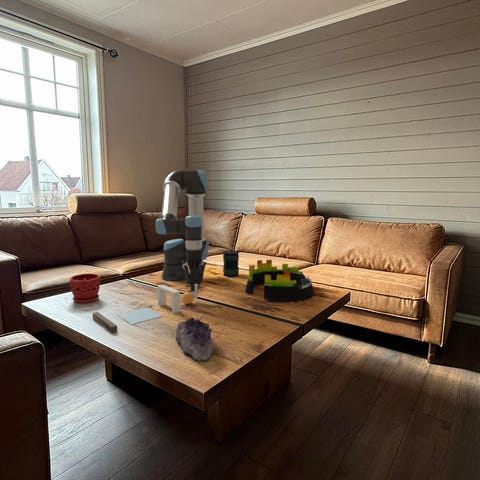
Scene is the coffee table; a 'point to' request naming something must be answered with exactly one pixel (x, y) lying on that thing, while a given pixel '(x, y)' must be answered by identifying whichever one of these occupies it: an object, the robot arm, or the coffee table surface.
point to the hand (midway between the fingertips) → (194, 297)
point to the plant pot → (85, 287)
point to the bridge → (175, 297)
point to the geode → (195, 339)
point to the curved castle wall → (279, 283)
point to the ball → (187, 298)
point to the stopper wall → (105, 322)
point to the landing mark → (139, 315)
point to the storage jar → (230, 263)
